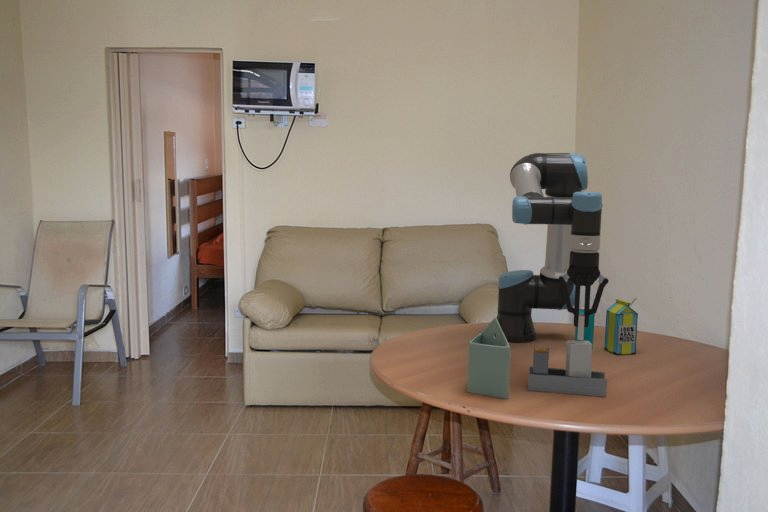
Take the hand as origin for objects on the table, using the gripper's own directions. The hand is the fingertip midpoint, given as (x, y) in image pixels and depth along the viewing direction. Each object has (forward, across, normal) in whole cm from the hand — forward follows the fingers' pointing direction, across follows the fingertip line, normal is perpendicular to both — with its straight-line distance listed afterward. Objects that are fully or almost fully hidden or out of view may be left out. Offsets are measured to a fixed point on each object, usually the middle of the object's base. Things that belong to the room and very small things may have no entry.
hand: (580, 338), depth 191 cm
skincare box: (+13, 0, 0) cm, 13 cm away
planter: (+15, -25, -7) cm, 30 cm away
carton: (+14, +15, +45) cm, 50 cm away
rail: (+14, -3, 0) cm, 15 cm away
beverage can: (+14, +3, +40) cm, 43 cm away
